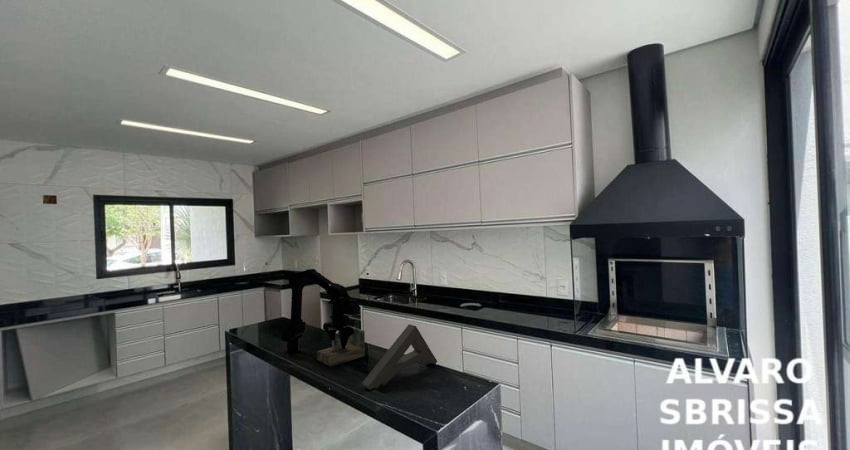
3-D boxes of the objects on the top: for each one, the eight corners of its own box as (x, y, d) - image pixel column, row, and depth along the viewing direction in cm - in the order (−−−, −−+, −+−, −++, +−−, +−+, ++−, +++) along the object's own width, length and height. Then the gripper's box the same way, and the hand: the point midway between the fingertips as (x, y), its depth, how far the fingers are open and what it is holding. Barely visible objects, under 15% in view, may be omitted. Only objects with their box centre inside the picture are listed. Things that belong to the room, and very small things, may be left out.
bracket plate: (331, 357, 159) (331, 340, 159) (343, 354, 163) (343, 337, 163) (334, 358, 158) (334, 341, 158) (345, 355, 162) (345, 338, 162)
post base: (317, 359, 159) (317, 333, 159) (350, 350, 172) (350, 326, 172) (330, 366, 151) (330, 339, 151) (364, 356, 163) (364, 330, 164)
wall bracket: (388, 418, 137) (430, 358, 155) (395, 423, 134) (437, 361, 152) (361, 383, 129) (408, 324, 147) (368, 386, 126) (415, 326, 144)
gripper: (364, 313, 160) (364, 347, 159) (342, 307, 173) (342, 339, 173) (343, 317, 152) (343, 353, 152) (322, 311, 165) (322, 344, 165)
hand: (338, 346), depth 160 cm, fingers open, 9 cm apart
